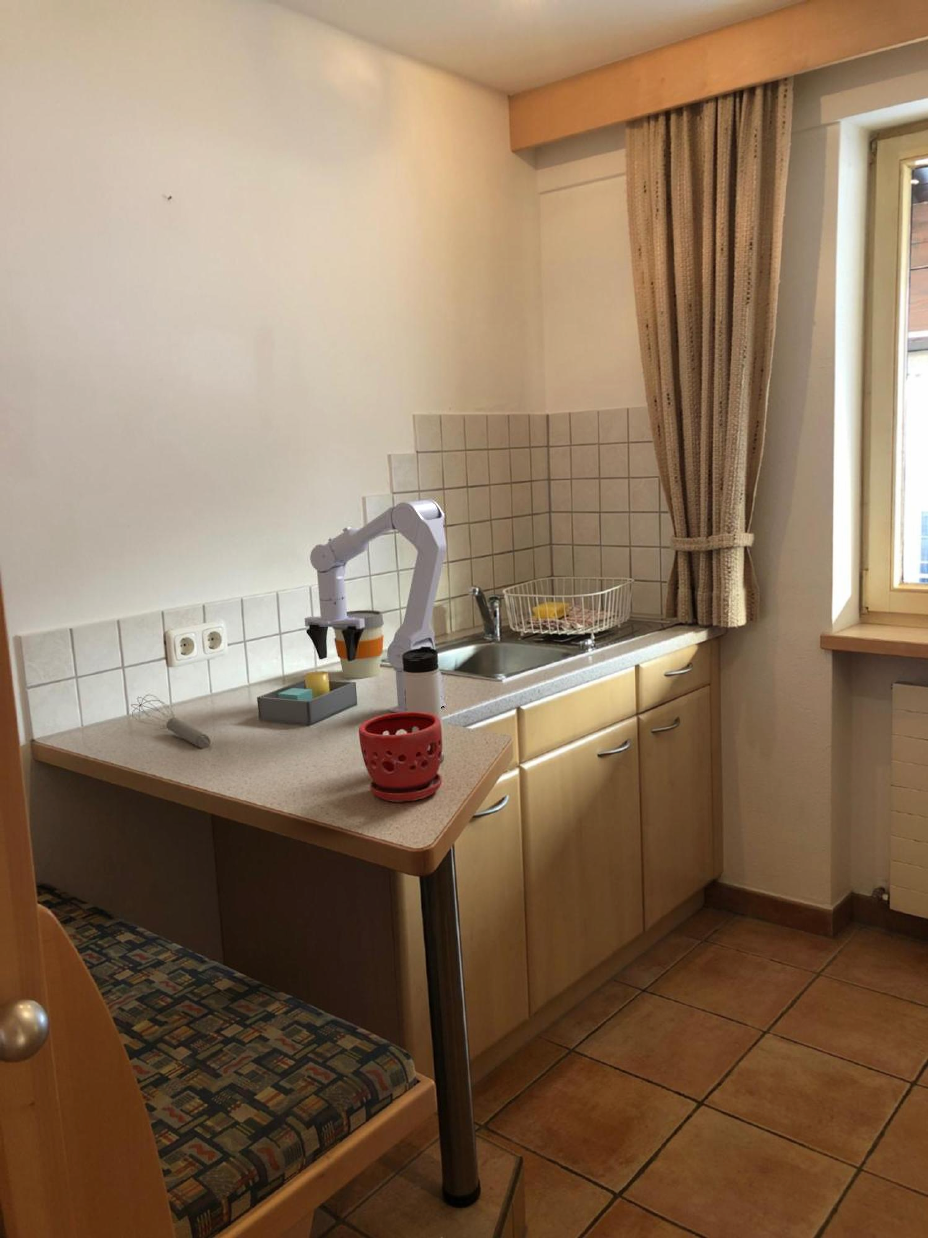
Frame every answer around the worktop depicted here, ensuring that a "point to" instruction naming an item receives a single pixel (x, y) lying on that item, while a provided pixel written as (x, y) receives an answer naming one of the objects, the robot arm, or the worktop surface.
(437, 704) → the travel mug
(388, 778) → the plant pot
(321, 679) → the cylinder
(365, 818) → the worktop surface
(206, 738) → the kitchen whisk
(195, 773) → the worktop surface
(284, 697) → the cube
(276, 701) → the tote
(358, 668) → the reusable coffee cup
